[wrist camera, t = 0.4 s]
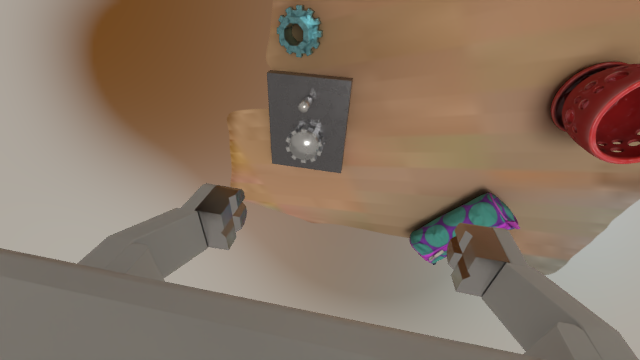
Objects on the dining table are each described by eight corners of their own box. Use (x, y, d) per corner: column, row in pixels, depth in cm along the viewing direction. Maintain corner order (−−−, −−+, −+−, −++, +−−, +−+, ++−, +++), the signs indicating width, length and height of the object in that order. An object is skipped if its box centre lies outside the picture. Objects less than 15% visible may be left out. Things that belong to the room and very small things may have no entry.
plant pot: (579, 144, 49) (629, 180, 39) (525, 107, 47) (564, 135, 37) (664, 82, 42) (751, 107, 32) (605, 35, 40) (678, 47, 30)
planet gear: (278, 3, 45) (269, 4, 41) (324, 6, 44) (318, 7, 40) (280, 53, 49) (271, 58, 45) (321, 57, 49) (316, 62, 44)
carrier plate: (270, 70, 51) (259, 77, 47) (352, 78, 50) (349, 87, 45) (275, 159, 63) (266, 172, 58) (341, 168, 61) (338, 183, 56)
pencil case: (428, 245, 70) (435, 276, 62) (406, 226, 67) (410, 255, 60) (509, 204, 59) (529, 236, 51) (486, 180, 56) (503, 209, 49)
